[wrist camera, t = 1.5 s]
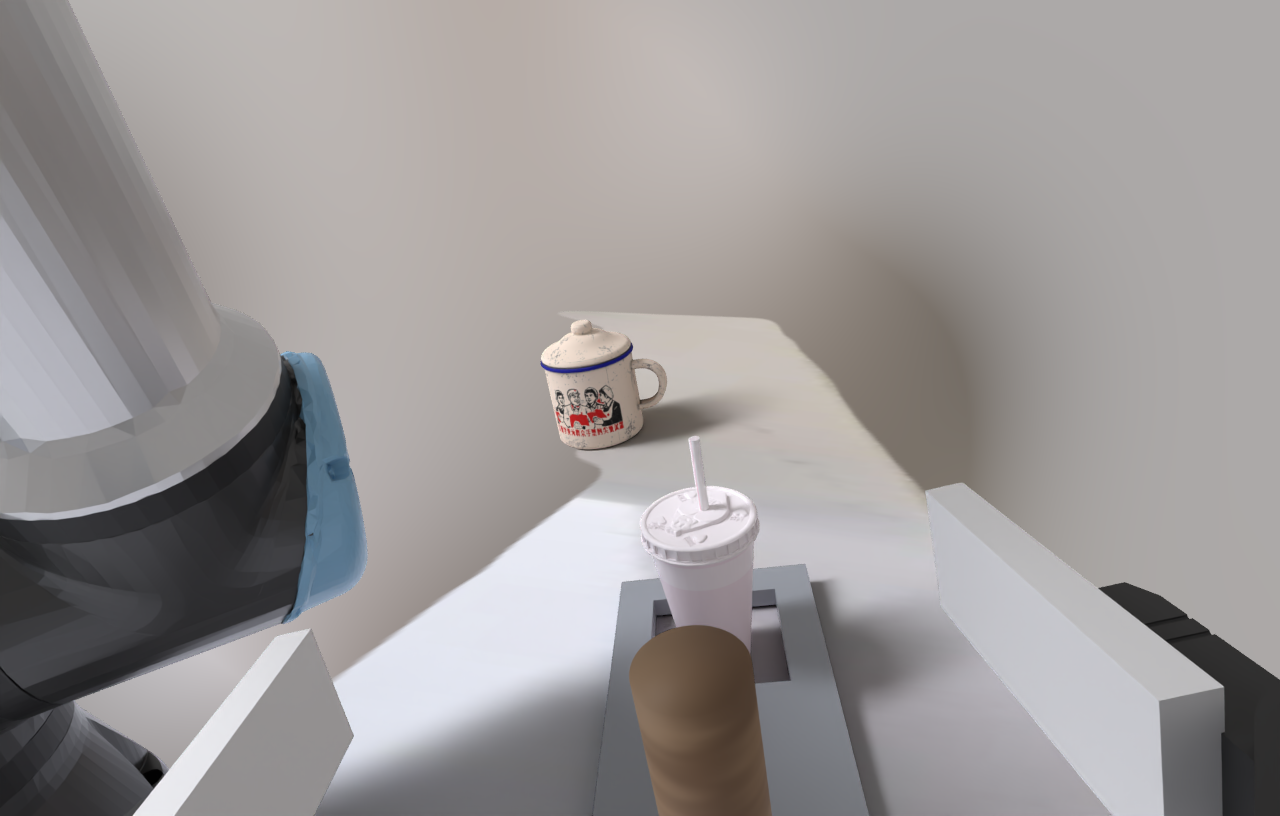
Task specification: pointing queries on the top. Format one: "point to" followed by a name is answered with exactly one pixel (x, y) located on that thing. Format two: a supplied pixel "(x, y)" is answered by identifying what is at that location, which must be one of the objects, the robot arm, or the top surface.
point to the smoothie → (704, 552)
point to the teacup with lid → (597, 387)
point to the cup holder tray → (723, 715)
